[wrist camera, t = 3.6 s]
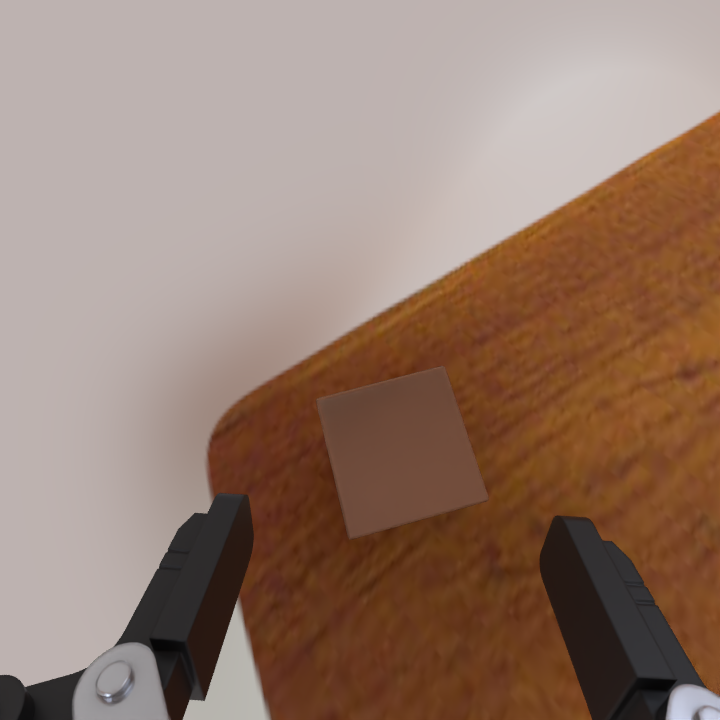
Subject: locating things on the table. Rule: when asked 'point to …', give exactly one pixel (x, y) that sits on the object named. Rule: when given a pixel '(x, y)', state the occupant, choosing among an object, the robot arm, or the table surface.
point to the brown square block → (399, 452)
